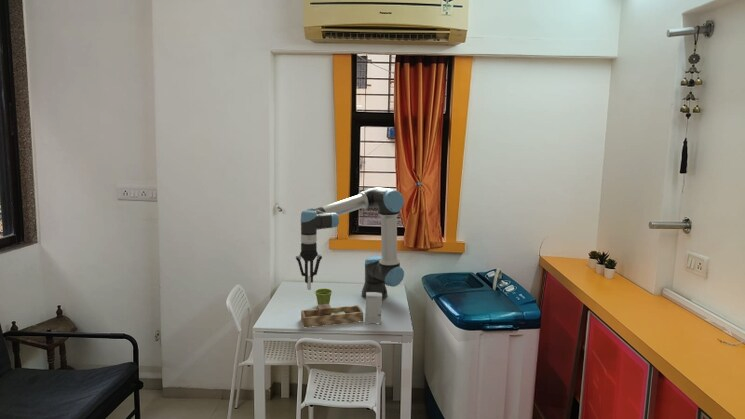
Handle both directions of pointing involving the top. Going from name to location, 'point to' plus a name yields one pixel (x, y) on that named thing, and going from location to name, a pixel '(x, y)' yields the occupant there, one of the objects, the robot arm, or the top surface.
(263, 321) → the top surface
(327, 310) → the walnut block
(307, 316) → the wooden cubby shelf
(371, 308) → the skincare box
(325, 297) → the plant pot
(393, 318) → the top surface
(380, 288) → the robot arm
